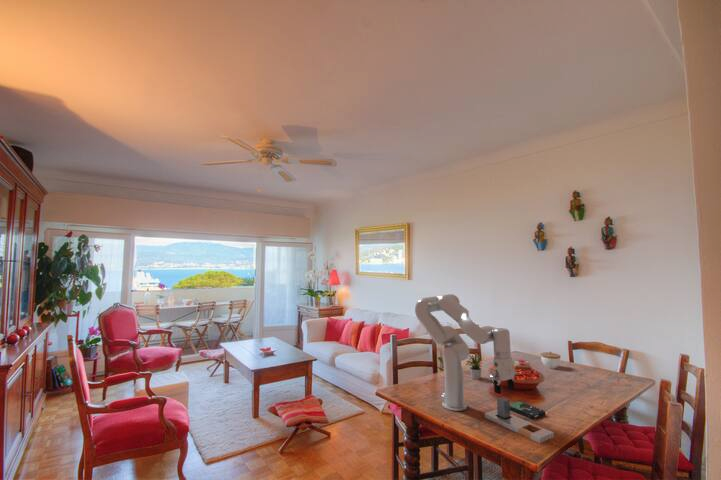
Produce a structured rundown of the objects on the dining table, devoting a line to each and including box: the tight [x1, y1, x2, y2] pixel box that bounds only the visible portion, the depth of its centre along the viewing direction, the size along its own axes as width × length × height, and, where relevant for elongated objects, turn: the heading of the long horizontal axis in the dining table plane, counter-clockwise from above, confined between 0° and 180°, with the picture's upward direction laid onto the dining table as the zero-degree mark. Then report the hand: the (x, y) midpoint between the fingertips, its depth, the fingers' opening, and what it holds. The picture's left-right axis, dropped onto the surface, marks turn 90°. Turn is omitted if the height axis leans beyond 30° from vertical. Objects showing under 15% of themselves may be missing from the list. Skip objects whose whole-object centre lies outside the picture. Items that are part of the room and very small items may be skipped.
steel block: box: [496, 396, 511, 420], centre depth 163 cm, size 4×4×10 cm
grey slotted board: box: [484, 408, 555, 444], centre depth 156 cm, size 28×10×2 cm, turn 30°
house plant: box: [465, 352, 484, 380], centre depth 226 cm, size 14×14×16 cm
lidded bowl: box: [540, 351, 561, 370], centre depth 248 cm, size 13×13×11 cm
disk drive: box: [510, 400, 546, 421], centre depth 172 cm, size 10×3×15 cm
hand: (504, 391), depth 163 cm, fingers open, 9 cm apart
